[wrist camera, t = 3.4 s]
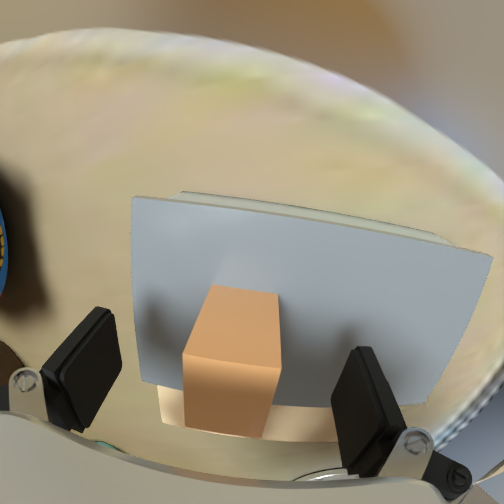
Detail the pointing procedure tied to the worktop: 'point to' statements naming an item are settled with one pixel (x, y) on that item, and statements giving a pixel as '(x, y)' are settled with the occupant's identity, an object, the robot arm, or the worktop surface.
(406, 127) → the worktop surface
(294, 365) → the lid
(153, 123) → the worktop surface
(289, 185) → the worktop surface
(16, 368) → the plant pot
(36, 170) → the worktop surface
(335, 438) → the mat
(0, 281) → the ceramic pot
